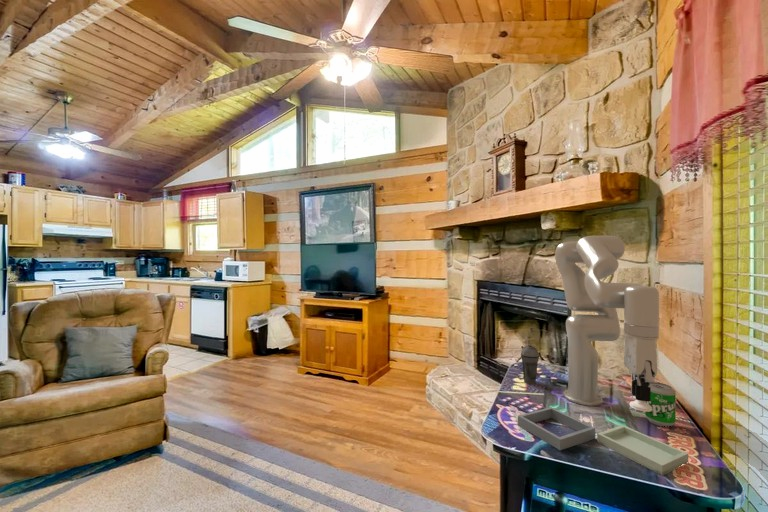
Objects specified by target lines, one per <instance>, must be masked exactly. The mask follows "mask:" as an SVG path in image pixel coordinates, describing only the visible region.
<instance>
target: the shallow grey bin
mask: <svg viewBox="0 0 768 512" xmlns="http://www.w3.org/2000/svg"><path fill="white" fill-rule="evenodd" d="M549 419H553V420H555V421H557V422H559V423H560V424H563V425H564V426H566V427H569V428H571V429H573V430H574V432H571V433H568V434H565V435H562V436H558V435H557V434H555V433H553V432H552V431H550V430H548V429H546V428H544V427H543V426H541V425H539V424H536V423H539V422H541V421H544V420H549ZM517 426H518V427H520V428H522V429H523V430H525V431H527V432H529V433H530V434H532V435H534V436H535V437H537V438H538V439H540V440H542V441H544V442H545V443H547V444H549V445H550V446H551V447H553V448H555V449H557V450H558V451H562V450H563V451H564V450H566V449H569V448H571V447H574V446H577V445H580V444H583V443H586V442H589V441H591V440H594V439H596V427H594V426H592V425H589V424H588V423H586V422H584V421H581V420H579V419H578V418H575V417H573V416H570V415H569V414H567V413H565V412H562V411H560V410H558V409H556V408H554V407H552V406H550V407H546V408H541V409H538V410H535V411H530V412H526V413H523V414H519V415H517Z"/></svg>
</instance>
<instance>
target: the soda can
mask: <svg viewBox="0 0 768 512" xmlns="http://www.w3.org/2000/svg"><path fill="white" fill-rule="evenodd" d="M676 395H677V394H676V390H675V389H673V387H672V386H671V385H669V384H666V383H662V382H657V381H654V382H652V383H651V390H650V401H649V402H648V401H645V402H646V403H647V404H649V405H650V406H651V407H652V411H650V412H645V411H644V413H645V415H644V416H645V418H646V419H647V420H648V422H650V423H651V424H654V426H655V425H656V426H659V427H662V426H663V427H662V428H670V427H669V426H671V427H672V426H674V425H676ZM664 426H665V427H664ZM667 426H668V427H667Z"/></svg>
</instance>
